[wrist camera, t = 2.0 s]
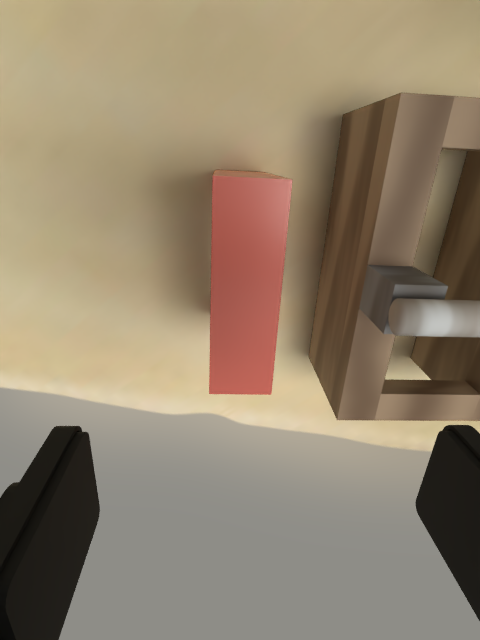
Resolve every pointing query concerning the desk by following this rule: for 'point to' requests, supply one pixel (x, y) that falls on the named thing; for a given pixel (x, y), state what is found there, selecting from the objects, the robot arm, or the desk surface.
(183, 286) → the desk surface
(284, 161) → the desk surface
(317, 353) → the tan hollow frame
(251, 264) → the red arch block
